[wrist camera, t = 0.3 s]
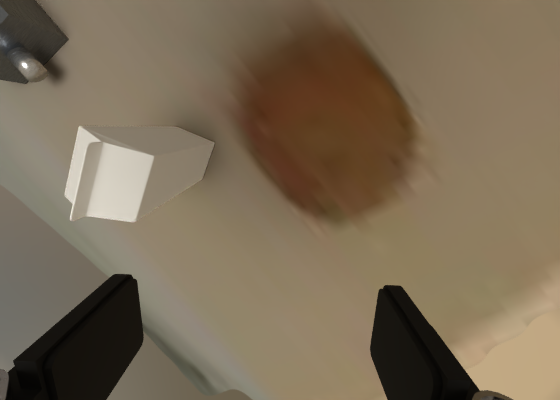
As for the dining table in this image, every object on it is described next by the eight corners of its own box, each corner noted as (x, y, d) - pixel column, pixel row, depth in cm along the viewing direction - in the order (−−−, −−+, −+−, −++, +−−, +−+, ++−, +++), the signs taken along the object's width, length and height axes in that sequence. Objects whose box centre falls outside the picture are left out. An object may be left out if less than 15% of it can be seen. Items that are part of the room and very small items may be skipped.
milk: (164, 164, 40) (24, 207, 19) (176, 125, 38) (38, 123, 17) (203, 180, 40) (110, 239, 19) (216, 142, 39) (130, 160, 18)
